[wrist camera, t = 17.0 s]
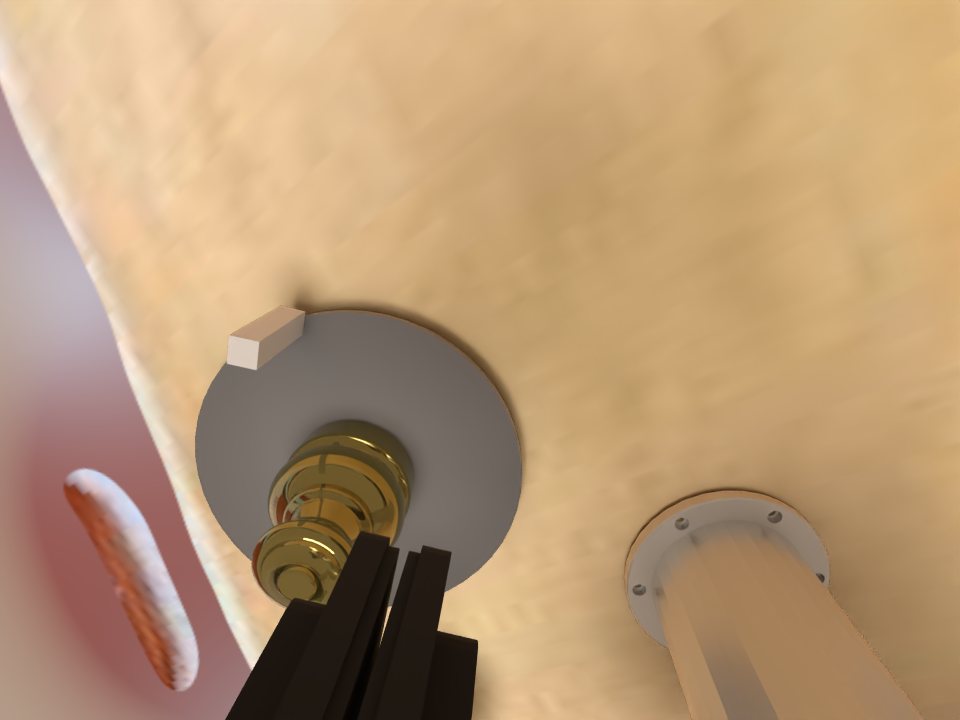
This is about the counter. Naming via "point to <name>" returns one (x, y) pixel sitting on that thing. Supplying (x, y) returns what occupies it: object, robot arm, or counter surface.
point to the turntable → (370, 399)
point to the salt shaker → (330, 508)
